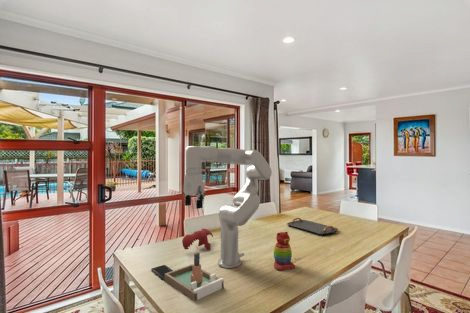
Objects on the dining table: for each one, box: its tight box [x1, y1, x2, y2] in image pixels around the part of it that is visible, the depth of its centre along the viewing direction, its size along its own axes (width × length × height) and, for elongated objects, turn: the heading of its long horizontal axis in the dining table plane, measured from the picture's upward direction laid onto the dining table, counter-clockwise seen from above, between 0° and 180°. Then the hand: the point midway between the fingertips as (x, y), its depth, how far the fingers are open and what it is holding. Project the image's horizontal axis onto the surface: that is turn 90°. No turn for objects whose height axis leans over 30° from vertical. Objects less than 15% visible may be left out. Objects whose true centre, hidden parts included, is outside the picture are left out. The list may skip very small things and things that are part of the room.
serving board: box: [286, 217, 339, 237], centre depth 207 cm, size 39×23×6 cm, turn 35°
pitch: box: [164, 264, 225, 302], centre depth 118 cm, size 15×24×5 cm, turn 44°
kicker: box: [191, 252, 203, 284], centre depth 116 cm, size 5×2×13 cm, turn 134°
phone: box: [150, 264, 174, 282], centre depth 129 cm, size 8×1×15 cm
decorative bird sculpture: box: [181, 228, 214, 251], centre depth 163 cm, size 28×9×15 cm
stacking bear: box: [273, 231, 296, 272], centre depth 137 cm, size 11×10×18 cm
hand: (193, 206), depth 126 cm, fingers open, 9 cm apart
